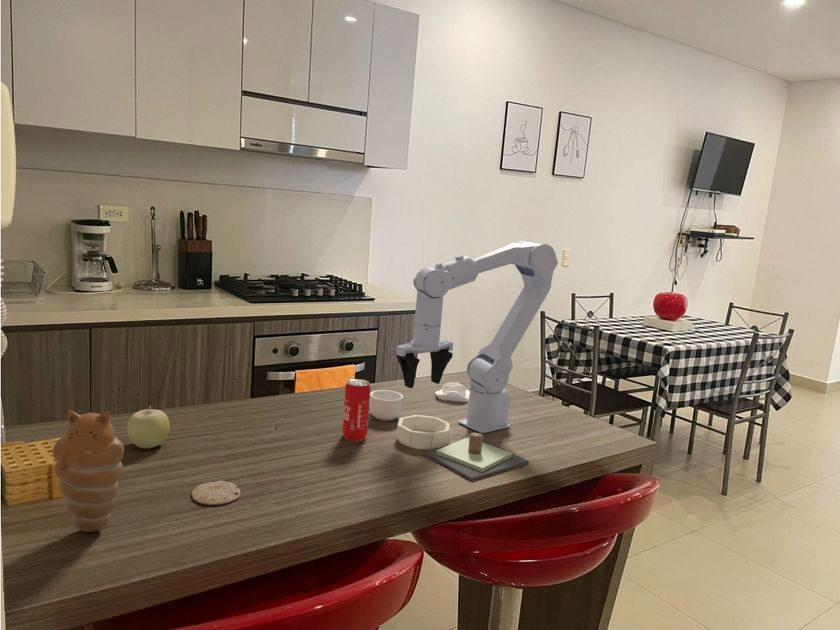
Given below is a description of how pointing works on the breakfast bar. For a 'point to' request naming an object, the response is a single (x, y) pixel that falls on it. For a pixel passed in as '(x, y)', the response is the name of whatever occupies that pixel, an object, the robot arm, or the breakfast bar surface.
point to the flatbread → (216, 493)
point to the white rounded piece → (453, 392)
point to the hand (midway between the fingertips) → (422, 384)
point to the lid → (474, 453)
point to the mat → (473, 473)
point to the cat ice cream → (89, 469)
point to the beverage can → (356, 409)
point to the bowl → (422, 432)
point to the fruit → (148, 428)
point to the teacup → (385, 404)
